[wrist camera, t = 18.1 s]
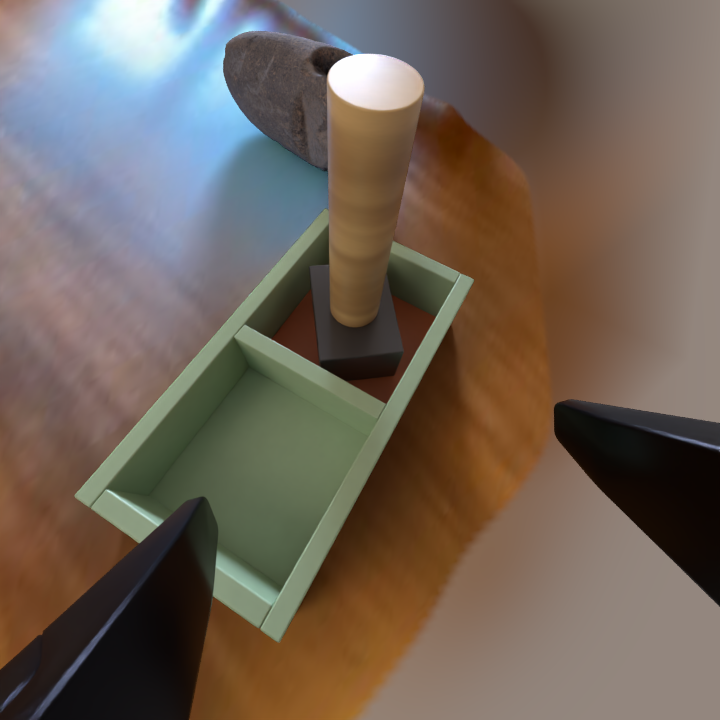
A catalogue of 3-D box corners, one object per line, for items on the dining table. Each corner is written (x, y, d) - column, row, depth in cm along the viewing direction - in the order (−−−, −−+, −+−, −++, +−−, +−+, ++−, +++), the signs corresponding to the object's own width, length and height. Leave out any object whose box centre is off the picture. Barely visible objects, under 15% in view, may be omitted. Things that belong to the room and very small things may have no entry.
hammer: (394, 376, 20) (486, 153, 8) (321, 384, 19) (302, 160, 7) (377, 292, 22) (430, 21, 10) (311, 298, 21) (285, 20, 10)
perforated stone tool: (213, 123, 29) (180, 9, 22) (259, 94, 31) (240, -19, 24) (367, 214, 26) (378, 112, 19) (407, 175, 28) (429, 71, 21)
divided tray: (451, 320, 22) (475, 279, 19) (291, 616, 16) (279, 644, 12) (326, 257, 24) (325, 207, 20) (129, 502, 17) (72, 496, 13)
